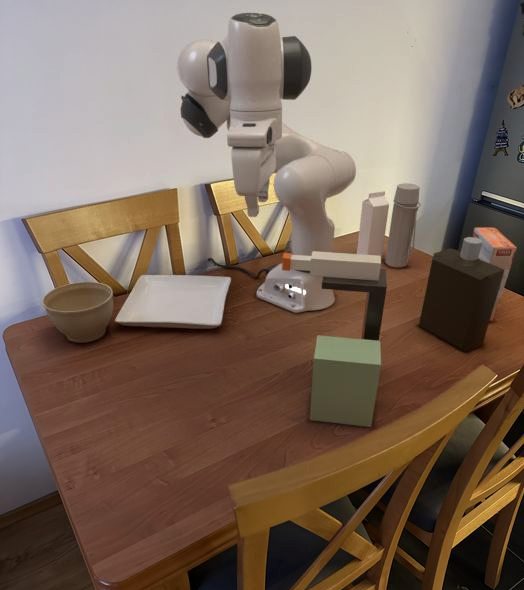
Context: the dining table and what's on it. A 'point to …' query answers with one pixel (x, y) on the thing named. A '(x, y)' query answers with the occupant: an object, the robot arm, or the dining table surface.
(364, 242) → the milk
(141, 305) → the square plate
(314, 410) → the green block
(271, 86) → the robot arm
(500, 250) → the cracker box
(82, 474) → the dining table surface
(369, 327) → the dark l-shaped bracket
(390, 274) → the dining table surface
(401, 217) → the water bottle
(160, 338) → the dining table surface
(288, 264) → the white bottle
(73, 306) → the planter bowl
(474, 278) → the bottle
